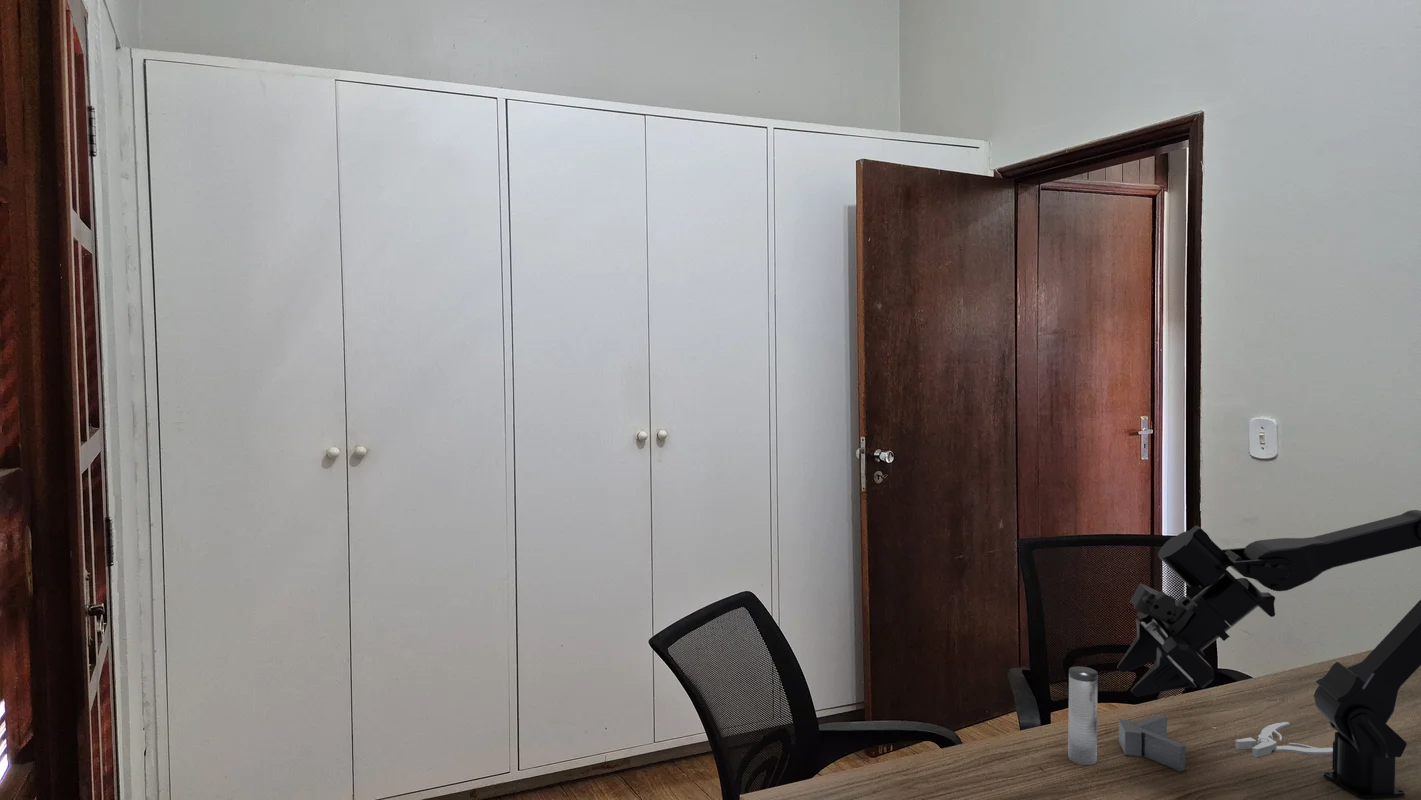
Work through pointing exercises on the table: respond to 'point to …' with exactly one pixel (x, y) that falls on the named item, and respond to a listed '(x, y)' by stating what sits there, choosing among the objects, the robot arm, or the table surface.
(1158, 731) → the v block
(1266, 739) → the pliers
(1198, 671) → the robot arm
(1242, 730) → the table surface
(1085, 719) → the axle
